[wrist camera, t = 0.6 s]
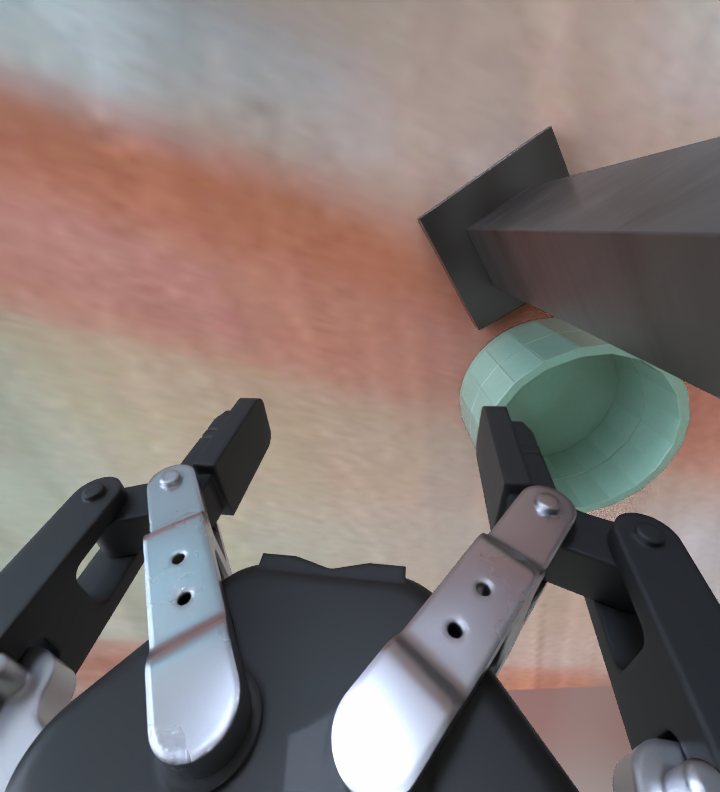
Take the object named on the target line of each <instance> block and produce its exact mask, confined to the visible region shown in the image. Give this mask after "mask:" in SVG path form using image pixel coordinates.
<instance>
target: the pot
mask: <svg viewBox="0 0 720 792" xmlns="http://www.w3.org/2000/svg"><path fill="white" fill-rule="evenodd" d="M483 406H506V408H507V410H508V413H509V416H510V418H511V421H519V422H523V423H524V424H525V425H526V426H527V427H528V428H529V429H530V430H531V431H532V432H533V434H534V436H535V439H536V441H537V445H538V446H539V448H540V451H541V455H542V456H543V458H544V461H545V463H546V465H547V468H548V470H549V473H550V475H551V478H552V480H553V483H554V485H555V487H556V490H558V491H560V492H561V493H563V494H564V495H566V496H567V497H568V498H569V499H570V500H571V501H572V503H573V504H574V506H575V508H576V509H577V510H579V511H581V512H583V513H586V512H589V511H593V510H596V509H600V508H603V507H607V506H610V505H613V504H615V503H617V502H619V501H621V500H623V499H625V498H627V497H629V496H630V495H632V494H634V493H636V492H638V491H640V489H643V488H644V487H645V486H646V485H647V484H648V483H650V482H651V481H652V480H653V479H654V478H655V477H657V476H658V475H659V474H660V473H661V472H662V471H664V469H665V468H666V467H667V466H668V464H669V463H670V461H671V460H672V458H673V457H674V455H675V454H676V453H677V451H678V450H679V448H680V447H681V445H682V444H683V440H684V437H685V434H686V431H687V428H688V424H689V421H690V407H689V396H688V390H687V388H686V386H685V385H684V383H683V381H682V380H681V379H679V378H677V377H675V376H673V375H671V374H669V373H667V372H665V371H663V370H661V369H659V368H657V367H655V366H653V365H651V364H649V363H647V362H645V361H643V360H641V359H639V358H637V357H635V356H633V355H631V354H629V353H627V352H625V351H623V350H621V349H619V348H617V347H615V346H613V345H611V344H609V343H607V342H605V341H603V340H601V339H599V338H597V337H595V336H593V335H591V334H589V333H587V332H585V331H583V330H581V329H578V328H576V327H574V326H572V325H570V324H568V323H566V322H564V321H562V320H560V319H558V318H554V317H550V318H541V319H536V320H532V321H527V322H525V323H522V324H519V325H516V326H514V327H512V328H510V329H508V330H506V331H505V332H503V333H502V334H500V335H498V336H497V337H495V338H494V339H493V340H492V341H491V342H489V343H488V344H487V345H486V346H485V347H484V348H483V349H482V350H481V351H480V352H479V353H478V355H477V356H476V357H475V359H474V360H473V361H472V363H471V365H470V366H469V368H468V370H467V372H466V374H465V377H464V379H463V383H462V386H461V391H460V411H461V416H462V419H463V422H464V424H465V426H466V429H467V431H468V434H469V436H470V438H471V441H472V443H473V445H474V447H475V449H476V441H477V434H478V428H479V422H480V416H481V410H482V407H483Z"/></svg>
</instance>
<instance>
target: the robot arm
mask: <svg viewBox="0 0 720 792" xmlns="http://www.w3.org/2000/svg"><path fill="white" fill-rule="evenodd" d="M270 440H271V431H270V427H269V423H268V419H267V415H266V411H265V407H264V403H263V401H262V400H261V399H257V398H240V399H239V400H238V401H237V403H236V404H235V405H234V407H233V408H232V409H231V411H225V412H224V413H223V414H221V415H220V416H218V417H217V418H216V419H215V420H214V421H213V422H212V424H211V425H210V426H209V428H208V430H206V432H205V433H204V434H203V435H202V438H200V439H199V441H198V442H197V443H196V445H195V446H194V447H193V449H192V450H191V451H190V452H189V454H188V455H187V456H186V458H185V459H184V460H183V462H182V463H181V464H180V465H174V466H170V467H168V468H165V469H163V470H161V471H160V472H158V473H157V474H156V475H154V476H153V477H152V479H151V480H150V481H149V483H148V484H143V485H137V486H132V487H127V488H124V487H123V485H122V483H121V482H120V480H119V479H117V478H114V477H104V478H100V479H96V480H94V481H91V482H89V483H87V484H86V485H84V486H82V487H81V488H80V489H78V490H77V491H76V492H75V493H74V494H73V495H72V496H71V497H70V498H69V499H68V500H67V502H66V503H65V504H64V505H63V506H62V507H61V508H60V509H59V510H58V511H57V512H56V513H55V514H54V515H53V516H52V518H51V519H50V520H49V521H48V522H47V523H46V524H45V525H44V526H43V527H42V528H41V529H40V530H39V531H38V532H37V534H36V535H35V536H34V537H33V538H32V539H31V540H30V541H29V542H28V543H27V544H26V545H25V546H24V547H23V548H22V550H21V551H20V552H19V553H18V554H17V555H16V556H15V557H14V558H13V559H12V560H11V561H10V562H9V563H8V564H7V566H6V567H5V568H4V569H3V570H2V571H1V572H0V792H579V791H578V789H577V788H576V786H575V785H574V784H573V782H572V781H571V780H570V778H569V777H568V775H567V774H566V773H565V771H564V770H563V768H562V767H561V766H560V764H559V763H558V761H557V760H556V759H555V757H554V756H553V755H552V753H551V752H550V750H549V749H548V748H547V746H546V745H545V743H544V742H543V741H542V739H541V738H540V736H539V735H538V734H537V732H536V731H535V730H534V728H533V727H532V725H531V724H530V723H529V721H528V720H527V719H526V717H525V716H524V714H523V713H522V712H521V710H520V709H519V707H518V706H517V705H516V703H515V702H514V700H513V699H512V698H511V696H510V695H509V693H508V692H507V691H506V689H505V688H504V687H503V685H502V684H501V682H500V681H499V680H498V678H497V677H496V676H497V674H498V673H499V671H500V669H501V667H502V665H503V664H504V662H505V660H506V658H507V656H508V655H509V653H510V651H511V649H512V647H513V645H514V643H515V641H516V639H517V637H518V635H519V633H520V631H521V629H522V627H523V626H524V624H525V622H526V620H527V618H528V617H529V615H530V613H531V611H532V610H533V608H534V606H535V604H536V603H537V601H538V599H539V597H540V595H541V594H542V592H543V590H544V588H545V587H546V585H547V583H548V582H549V583H552V584H554V585H557V586H560V587H562V588H565V589H567V590H570V591H572V592H575V593H577V594H580V595H583V596H584V597H585V600H586V604H587V607H588V610H589V613H590V617H591V620H592V623H593V626H594V629H595V633H596V636H597V639H598V642H599V646H600V649H601V652H602V655H603V658H604V662H605V665H606V668H607V671H608V674H609V678H610V681H611V684H612V687H613V690H614V694H615V697H616V700H617V703H618V707H619V710H620V713H621V716H622V720H623V723H624V726H625V729H626V732H627V736H628V739H629V742H630V745H631V748H632V751H631V752H630V753H628V754H627V755H626V756H624V757H623V758H622V759H620V760H619V762H618V763H617V764H616V766H615V769H614V772H613V791H614V792H720V604H719V603H718V601H717V599H716V598H715V596H714V594H713V593H712V591H711V589H710V588H709V586H708V584H707V583H706V581H705V579H704V578H703V576H702V574H701V573H700V571H699V570H698V568H697V566H696V565H695V563H694V561H693V560H692V558H691V556H690V555H689V553H688V551H687V550H686V548H685V546H684V545H683V543H682V541H681V540H680V538H679V537H678V536H677V535H676V534H675V532H674V531H672V530H671V529H670V528H669V527H668V526H666V525H665V524H663V523H662V522H660V521H658V520H656V519H654V518H652V517H649V516H647V515H643V514H639V513H625V514H621V515H619V516H618V517H617V518H616V519H615V521H614V522H612V521H608V520H605V519H602V518H599V517H595V516H592V515H589V514H586V513H583V512H581V511H579V510H577V509H576V508H575V506H574V504H573V503H572V501H571V500H570V499H569V498H568V497H567V496H566V495H564V494H563V493H561V492H560V491H558V490H556V487H555V485H554V483H553V480H552V478H551V475H550V473H549V470H548V468H547V465H546V463H545V461H544V458H543V456H542V455H541V451H540V448H539V446H538V445H537V441H536V439H535V436H534V434H533V432H532V431H531V430H530V429H529V428H528V427H527V426H526V425H525V424H524V423H523V422H519V421H511V418H510V416H509V413H508V410H507V408H506V406H483V407H482V410H481V416H480V422H479V428H478V434H477V441H476V455H477V461H478V466H479V472H480V477H481V482H482V487H483V493H484V498H485V503H486V508H487V513H488V519H489V524H490V529H491V531H490V533H489V534H488V535H487V534H485V533H482V534H480V535H479V536H478V537H477V539H476V540H475V541H474V542H473V543H472V545H471V546H470V547H469V548H468V550H467V551H466V552H465V553H464V555H463V556H462V557H461V558H460V560H459V561H458V562H457V563H456V565H455V566H454V567H453V568H452V570H451V571H450V572H449V573H448V575H447V576H446V577H445V578H444V580H443V581H442V582H441V583H440V585H439V586H438V587H437V588H436V590H435V591H434V592H433V593H432V592H430V591H429V590H428V589H426V588H425V587H423V586H422V585H420V584H418V583H416V582H414V581H412V580H409V579H406V578H405V574H406V567H404V566H394V565H383V564H372V563H367V564H361V565H354V566H348V567H341V568H335V569H330V568H326V567H323V566H321V565H318V564H316V563H313V562H310V561H308V560H305V559H302V558H300V557H297V556H287V555H277V554H266V553H263V556H262V558H261V561H260V563H259V565H255V566H252V567H248V568H245V569H243V570H240V571H238V572H236V573H234V574H232V572H231V568H230V565H229V561H228V558H227V554H226V551H225V547H224V543H223V540H222V536H221V533H220V529H219V526H218V523H217V520H218V519H219V517H220V515H221V514H222V515H234V514H235V512H236V510H237V508H238V506H239V504H240V502H241V500H242V498H243V496H244V494H245V492H246V490H247V488H248V486H249V484H250V482H251V480H252V478H253V476H254V475H255V473H256V471H257V469H258V467H259V465H260V463H261V461H262V459H263V457H264V455H265V453H266V451H267V449H268V447H269V444H270ZM95 543H97V544H98V545H99V547H100V549H99V551H98V552H97V553H96V555H95V556H94V557H93V559H92V560H91V562H90V563H89V564H88V566H87V567H86V568H85V570H84V571H83V572H82V574H81V575H80V576H79V578H78V579H77V580H76V572H77V569H78V566H79V565H80V563H81V562H82V560H83V559H84V558H85V556H86V555H87V554H88V552H89V551H90V550H91V548H92V547H93V546H94V545H95ZM143 563H144V565H145V581H146V598H147V614H148V631H149V640H148V641H146V642H145V643H144V644H143V645H141V646H140V647H139V648H138V649H136V650H135V651H134V652H133V653H131V654H130V655H129V656H128V657H126V658H125V659H124V660H123V661H122V662H120V663H119V664H118V665H117V666H115V667H114V668H113V669H112V670H110V671H109V672H108V673H107V674H105V675H104V676H103V677H102V678H100V679H99V680H98V681H97V682H95V683H94V684H93V685H92V686H90V687H89V688H88V689H87V690H85V691H84V692H83V693H82V694H80V695H79V696H78V697H77V698H75V699H74V700H73V701H71V699H72V696H73V694H74V691H75V687H76V676H75V675H76V673H77V672H78V670H79V668H80V667H81V665H82V663H83V662H84V660H85V658H86V657H87V655H88V653H89V652H90V650H91V648H92V647H93V645H94V644H95V642H96V640H97V639H98V637H99V635H100V634H101V632H102V630H103V629H104V627H105V625H106V624H107V622H108V620H109V619H110V617H111V616H112V614H113V612H114V611H115V609H116V607H117V606H118V604H119V602H120V601H121V599H122V597H123V596H124V594H125V592H126V591H127V589H128V588H129V586H130V584H131V583H132V581H133V579H134V578H135V576H136V574H137V573H138V571H139V569H140V568H141V566H142V565H143Z"/></svg>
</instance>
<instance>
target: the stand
mask: <svg viewBox="0 0 720 792" xmlns="http://www.w3.org/2000/svg"><path fill="white" fill-rule="evenodd" d="M418 222H419V224H420V225H421V227H422V229H423V231H424V233H425V235H426V237H427V238H428V240H429V242H430V244H431V246H432V248H433V249H434V251H435V253H436V255H437V257H438V259H439V261H440V262H441V264H442V266H443V268H444V270H445V272H446V274H447V275H448V277H449V279H450V281H451V283H452V285H453V287H454V288H455V290H456V292H457V294H458V296H459V298H460V300H461V301H462V303H463V305H464V307H465V309H466V311H467V313H468V314H469V316H470V318H471V320H472V322H473V324H474V326H475V327H476V328H477V329H478V330H481V329H482V328H484V327H486V326H488V325H489V324H491V323H493V322H494V321H496V320H498V319H500V318H501V317H503V316H505V315H506V314H508V313H510V312H512V311H513V310H515V309H517V308H518V307H520V306H522V305H524V304H525V303H528V304H530V305H532V306H534V307H536V308H538V309H540V310H542V311H544V312H546V313H548V314H550V315H552V316H554V317H556V318H558V319H560V320H562V321H564V322H566V323H568V324H570V325H572V326H574V327H576V328H578V329H581V330H583V331H585V332H587V333H589V334H591V335H593V336H595V337H597V338H599V339H601V340H603V341H605V342H607V343H609V344H611V345H613V346H615V347H617V348H619V349H621V350H623V351H625V352H627V353H629V354H631V355H633V356H635V357H637V358H639V359H641V360H643V361H645V362H647V363H649V364H651V365H653V366H655V367H657V368H659V369H661V370H663V371H665V372H667V373H669V374H671V375H673V376H675V377H677V378H679V379H681V380H683V381H686V382H688V383H690V384H692V385H694V386H696V387H698V388H700V389H702V390H704V391H706V392H708V393H710V394H712V395H714V396H716V397H718V398H720V137H717V138H713V139H710V140H706V141H702V142H698V143H694V144H690V145H687V146H683V147H679V148H675V149H671V150H667V151H664V152H660V153H656V154H652V155H648V156H644V157H641V158H637V159H633V160H629V161H625V162H621V163H618V164H614V165H610V166H606V167H602V168H598V169H595V170H591V171H587V172H583V173H579V174H575V175H572V176H569V173H568V170H567V168H566V165H565V162H564V159H563V157H562V154H561V151H560V149H559V146H558V143H557V140H556V138H555V135H554V132H553V130H552V127H551V126H550V127H548V128H546V129H544V130H543V131H541V132H540V133H538V134H537V135H535V136H534V137H532V138H531V139H530V140H528V141H527V142H525V143H524V144H523V145H521V146H520V147H518V148H517V149H516V150H514V151H513V152H511V153H510V154H508V155H507V156H506V157H504V158H503V159H501V160H500V161H499V162H497V163H496V164H494V165H493V166H491V167H490V168H489V169H487V170H486V171H484V172H483V173H482V174H480V175H479V176H477V177H476V178H475V179H473V180H472V181H470V182H469V183H467V184H466V185H465V186H463V187H462V188H460V189H459V190H458V191H456V192H455V193H453V194H452V195H451V196H449V197H448V198H446V199H445V200H443V201H442V202H441V203H439V204H438V205H436V206H435V207H434V208H432V209H431V210H429V211H428V212H426V213H425V214H424V215H422V216H421V217H419V218H418Z"/></svg>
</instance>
